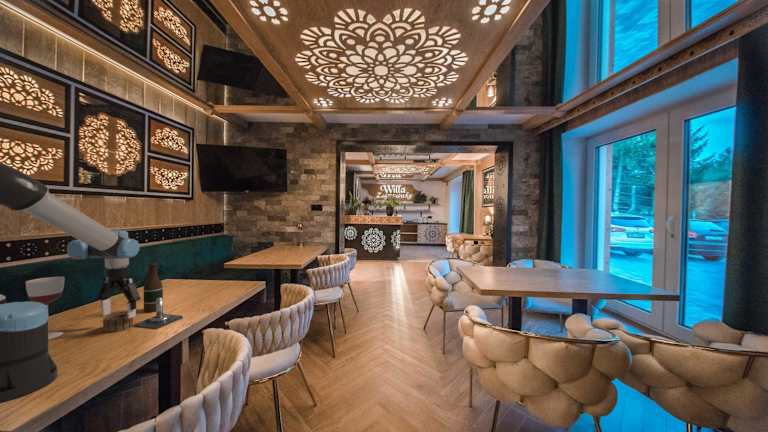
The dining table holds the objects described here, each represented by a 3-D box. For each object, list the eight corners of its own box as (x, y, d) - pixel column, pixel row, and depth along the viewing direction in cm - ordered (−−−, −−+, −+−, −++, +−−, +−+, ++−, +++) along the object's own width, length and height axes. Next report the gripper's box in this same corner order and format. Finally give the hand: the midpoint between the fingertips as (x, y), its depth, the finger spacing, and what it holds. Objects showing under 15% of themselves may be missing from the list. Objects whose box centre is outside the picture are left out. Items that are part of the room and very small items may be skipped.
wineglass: (23, 339, 111) (22, 280, 110) (61, 329, 120) (60, 275, 119) (30, 344, 106) (29, 283, 106) (69, 334, 115) (68, 278, 115)
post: (157, 328, 121) (157, 302, 121) (135, 326, 123) (134, 300, 123) (182, 318, 133) (182, 294, 132) (161, 316, 135) (161, 293, 135)
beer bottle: (146, 308, 145) (145, 262, 145) (165, 306, 148) (164, 261, 148) (140, 313, 138) (140, 265, 138) (160, 311, 141) (160, 263, 141)
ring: (114, 333, 116) (114, 321, 116) (97, 331, 118) (97, 319, 118) (137, 324, 125) (137, 313, 125) (121, 323, 126) (121, 312, 126)
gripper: (150, 266, 122) (151, 314, 123) (104, 263, 127) (106, 310, 128) (131, 270, 115) (133, 321, 115) (84, 267, 119) (85, 316, 120)
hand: (119, 315), depth 121 cm, fingers open, 13 cm apart
